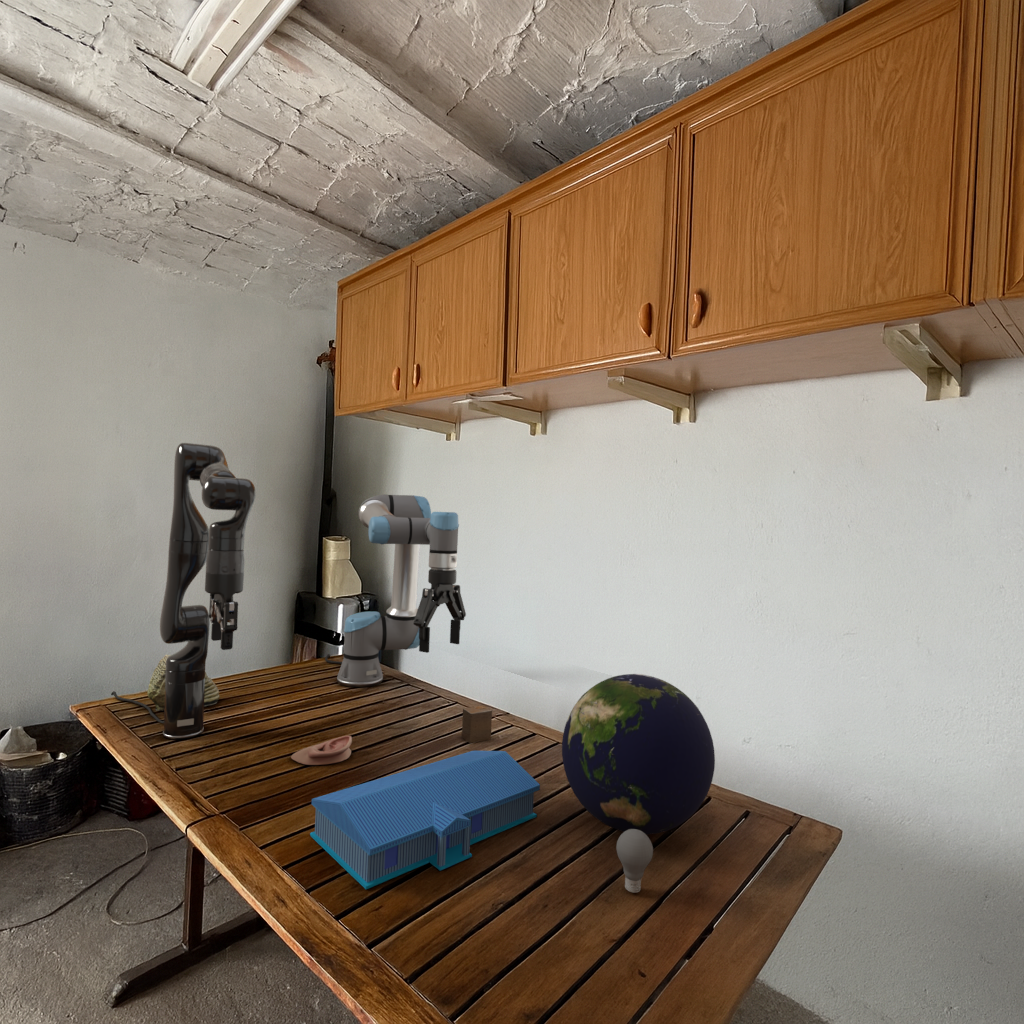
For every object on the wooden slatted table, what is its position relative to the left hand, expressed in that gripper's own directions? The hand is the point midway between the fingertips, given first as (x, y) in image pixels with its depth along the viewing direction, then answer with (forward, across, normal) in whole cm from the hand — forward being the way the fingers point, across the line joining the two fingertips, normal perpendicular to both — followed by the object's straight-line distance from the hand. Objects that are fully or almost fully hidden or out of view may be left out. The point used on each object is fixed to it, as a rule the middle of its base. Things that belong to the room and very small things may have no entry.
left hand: (221, 644), depth 137 cm
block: (+30, -8, -64) cm, 71 cm away
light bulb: (+28, -78, -48) cm, 95 cm away
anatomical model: (+30, +1, -24) cm, 39 cm away
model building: (+29, -42, -30) cm, 59 cm away
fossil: (+32, +56, -4) cm, 65 cm away
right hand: (+6, 0, -55) cm, 56 cm away
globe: (+28, -63, -64) cm, 94 cm away
